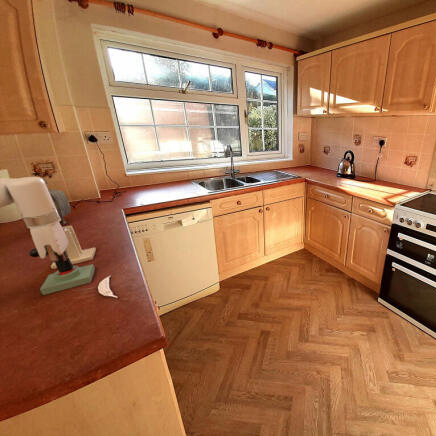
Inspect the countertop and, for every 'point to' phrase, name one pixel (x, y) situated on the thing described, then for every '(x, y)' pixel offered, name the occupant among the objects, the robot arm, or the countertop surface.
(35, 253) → the lever
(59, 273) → the button
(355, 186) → the countertop surface
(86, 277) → the button box
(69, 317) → the countertop surface
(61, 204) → the tabletop clock
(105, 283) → the pea pod
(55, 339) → the countertop surface
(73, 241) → the bracket
